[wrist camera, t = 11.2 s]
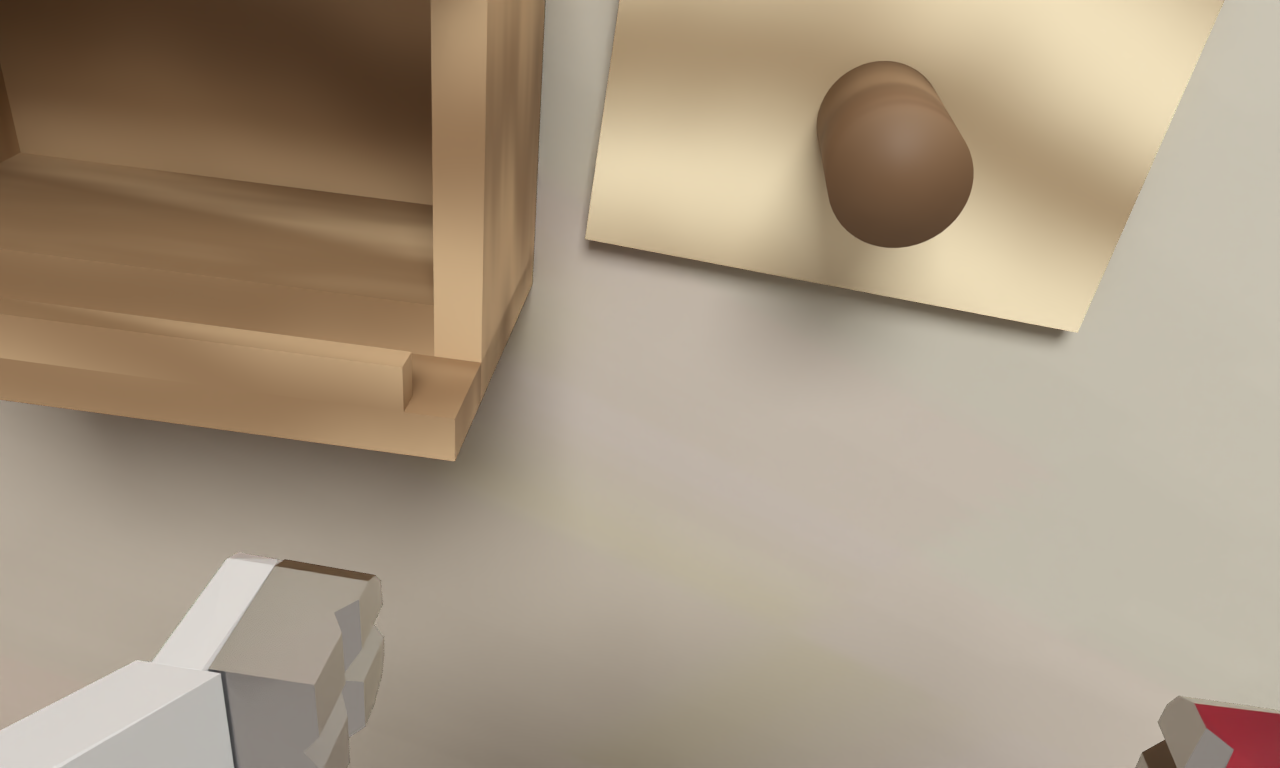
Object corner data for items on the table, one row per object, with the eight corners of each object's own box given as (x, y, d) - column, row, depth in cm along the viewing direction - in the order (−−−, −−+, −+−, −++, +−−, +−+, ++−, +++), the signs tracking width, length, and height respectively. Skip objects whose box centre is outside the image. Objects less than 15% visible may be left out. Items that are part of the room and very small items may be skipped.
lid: (1064, 311, 27) (1128, 418, 22) (591, 221, 27) (558, 309, 22) (1210, -26, 22) (1324, 21, 18) (643, -134, 22) (615, -113, 18)
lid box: (532, 283, 27) (454, 461, 20) (20, 217, 27) (-231, 368, 20) (554, -190, 21) (455, -173, 14) (-93, -263, 22) (-496, -284, 15)
